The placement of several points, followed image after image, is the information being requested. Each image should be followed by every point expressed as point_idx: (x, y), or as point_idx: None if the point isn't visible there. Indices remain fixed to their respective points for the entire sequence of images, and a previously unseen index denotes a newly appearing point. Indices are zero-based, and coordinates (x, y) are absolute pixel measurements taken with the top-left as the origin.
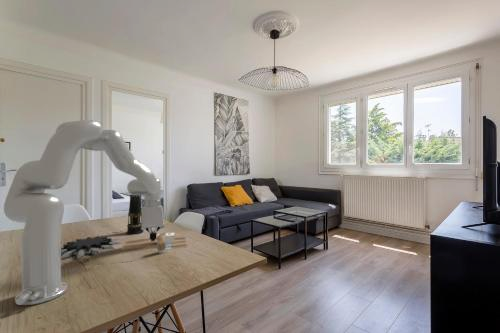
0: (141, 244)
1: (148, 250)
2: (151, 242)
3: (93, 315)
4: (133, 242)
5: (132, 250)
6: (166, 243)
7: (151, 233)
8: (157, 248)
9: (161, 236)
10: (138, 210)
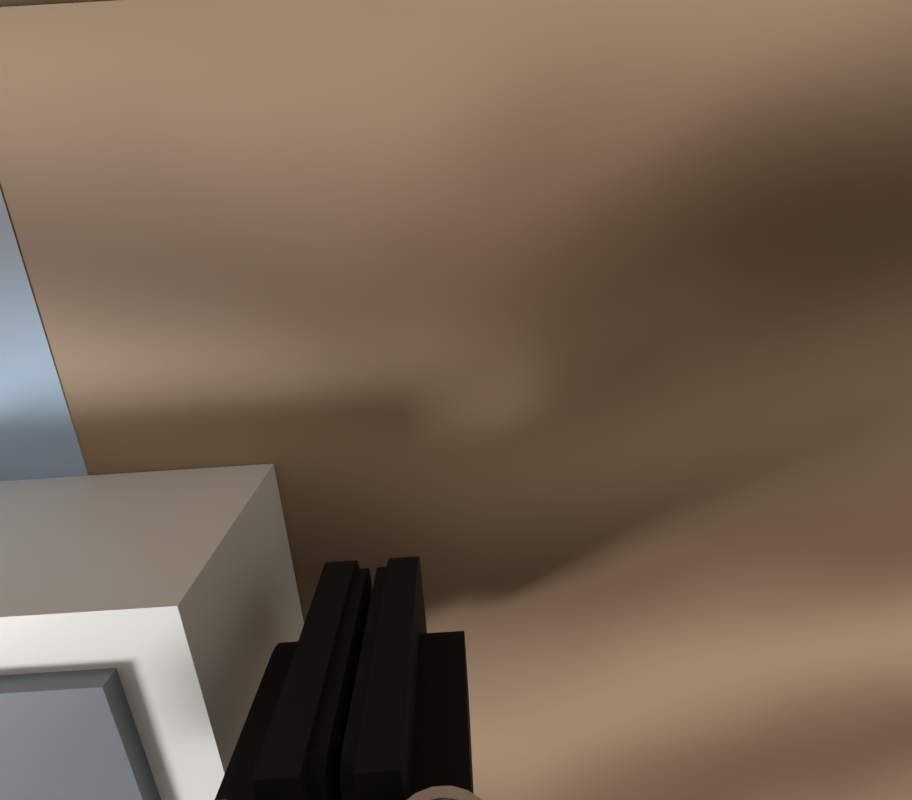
0: (649, 572)
1: (415, 12)
2: None
3: None
4: (815, 725)
5: (857, 147)
6: (41, 482)
7: (388, 776)
8: (188, 150)
9: None
10: None
